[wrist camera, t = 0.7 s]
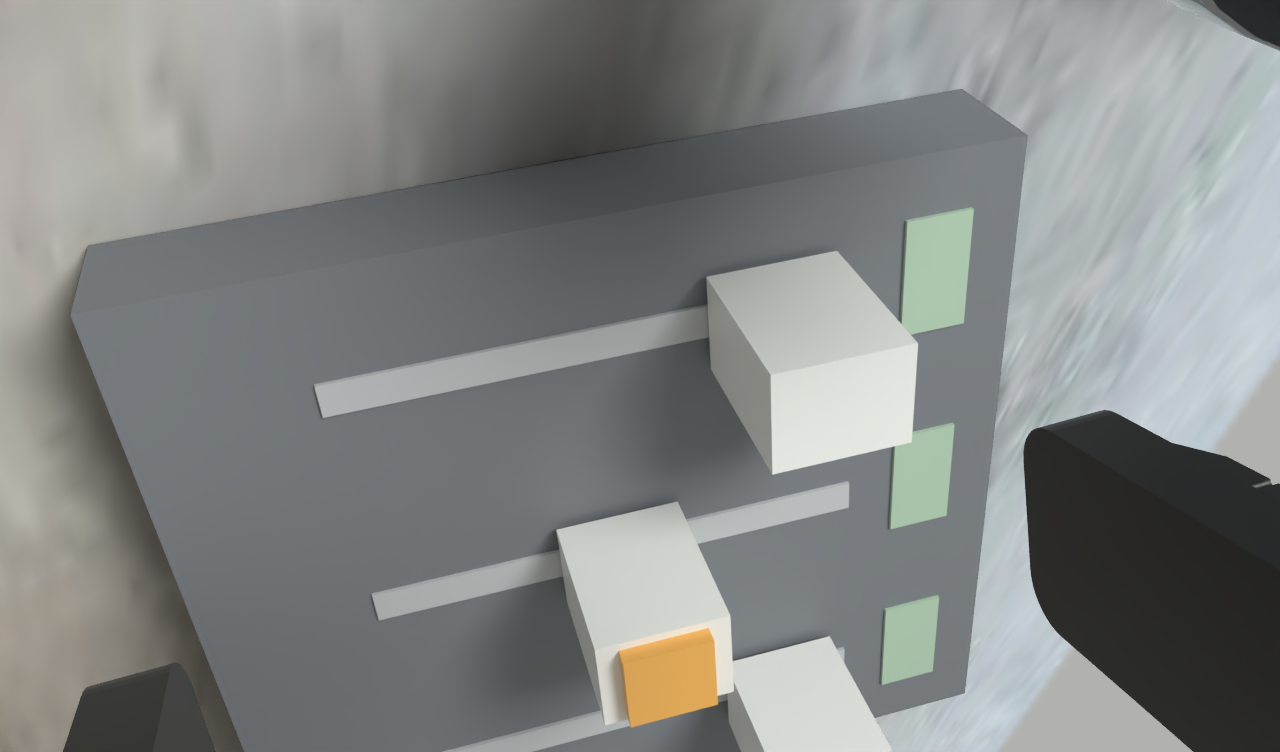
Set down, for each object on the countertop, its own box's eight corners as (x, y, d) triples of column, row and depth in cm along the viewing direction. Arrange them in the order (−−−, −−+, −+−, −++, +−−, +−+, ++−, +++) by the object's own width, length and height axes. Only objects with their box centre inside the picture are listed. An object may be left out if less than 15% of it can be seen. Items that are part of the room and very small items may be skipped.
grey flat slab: (87, 245, 25) (69, 317, 23) (962, 89, 29) (1030, 137, 26) (290, 788, 35) (293, 880, 33) (920, 624, 39) (966, 695, 36)
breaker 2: (725, 662, 33) (777, 781, 29) (829, 636, 33) (891, 749, 30) (728, 721, 34) (778, 841, 31) (828, 695, 35) (887, 810, 31)
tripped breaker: (555, 529, 29) (598, 663, 25) (677, 501, 29) (736, 628, 26) (566, 602, 30) (609, 739, 26) (683, 574, 30) (739, 704, 27)
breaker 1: (706, 277, 26) (770, 375, 23) (836, 250, 26) (917, 343, 23) (710, 369, 27) (772, 474, 24) (835, 342, 28) (912, 442, 25)
